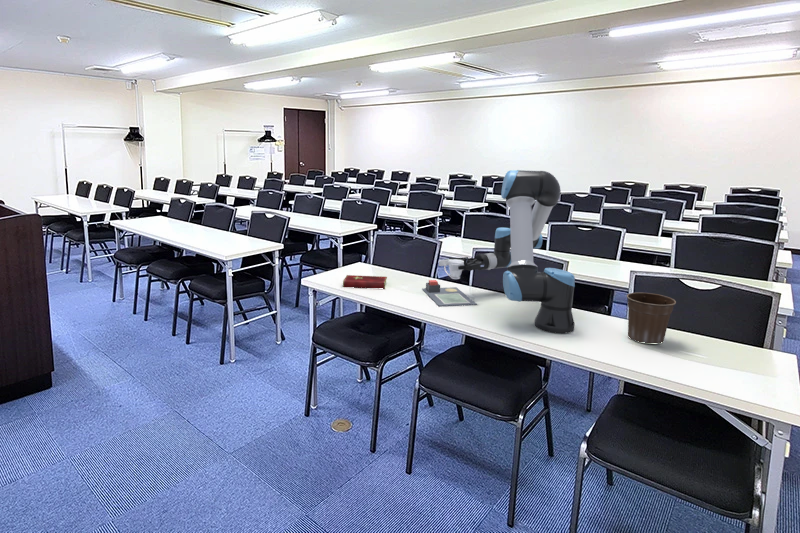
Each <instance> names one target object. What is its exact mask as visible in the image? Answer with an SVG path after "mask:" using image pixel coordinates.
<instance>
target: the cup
mask: <svg viewBox="0 0 800 533" xmlns="http://www.w3.org/2000/svg"><path fill="white" fill-rule="evenodd" d="M448 263H449V265H448V266H449V267H448V268H449V272H448V271H447V270H446V268H447V266H446V264H447V262H446V263H445V265H444V266H443V270H444V272H445V273H446V275H447V276H448V277H450V279H452V280H460V279H461V275H462V272H463V270H457V271H451V265H454V264H464V261H462V260H457V259H453V260H449V261H448Z"/></svg>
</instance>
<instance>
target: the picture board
mask: <svg viewBox="0 0 800 533" xmlns="http://www.w3.org/2000/svg"><path fill="white" fill-rule="evenodd" d="M421 290H422V292H424V293H425V294H426V295H427V296H428V297H429V298H430V299H431V301H433V303H434V304H436V306H438V308H439V307H441V308H442V307H462V305H463V307H464V305H465V306H477V305H478V303H477V302H475V300H473V299H472V298H470V297H469V296H468V295H467V294H466V293H464V292H463V291H462V290H461V289H459V288H458V287H456V286H455V287H454V286H452V287H451V286H450V287H440V292H434V293H429V292H428V291H427V290H426V287H425V288H424V287H422V288H421Z"/></svg>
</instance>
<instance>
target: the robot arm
mask: <svg viewBox="0 0 800 533" xmlns="http://www.w3.org/2000/svg"><path fill="white" fill-rule="evenodd" d="M501 186H502V187H501V191H500V192H501V193H500V194H501V198H502V199H503V200H505V203H506V204H505V205H507V206H508V207H509V221H510V222H509V224H510V226H509V227H503V226H502V227H497V228H495V229H496V230H495V234H494V248H493V252H489V253H478V254H477V255H475V256H474V257H468V256H465V257H449V258H448V259H447V258H446V259H439V260H438V266H439V267H444V265H445V263H446V262H447V264H446V267H447V266H449V263H448V261H449V260H453V259H457V260H462V261H464V264H454V265H451V271H457V270H462V271H467V272H470V271H475V270H478V271H485V270H488V271H491V269H493V270H494V269H502V268H503V269H505V268H506V269H507V270H506V271H504V272H503V276H502V286H503V291H504V294H505V296H506V298H507V299H508V300H509V301H512V302H513V301H514V302H518V303H519V302H532V303H534V302H536V303H537V302H538V303H540V308H539V309H538V312H537V314H536V317H535V319H534V326H535V328H536V329H538V330H540V331H544V332H545V333H546V332H547V333H551V334H561V335H562V334H571V333H573V332H574V330H575V326H576V325H575V320H574V319H575V318H574V316H573V311H572V310H573V309H572V308H573V302H574V292H575V287H576V285H575V281H576V280H575V279H576V278H575V275H574V274H573V273H571V272H569V271H567V270H564V269H561V268H560V269H559V268H555V267H545V268H544V270H543V271H538V270H539V268H538V265H537V264H535V262H534V250H535V249H541V248H542V245H543V238H544V237H543V235H542V232H543V230H544V227H545V225H546V223H547V221H548V219H549V216H550V215H551V212H552V209H553V208H554V207H555V206H556V205H558V202H559V200H560V197H561V185H560V183H559V180H558V179H557V178H556V177H555V176H554V175H553V174H552V173H550V172H549V171H545V170H522V169H521V170H520V169H517V170H514V169H513V170H508V171H507V172H506V173H505V175H504V177H503V181H502V184H501ZM533 205H534V206H533ZM532 206H533V207H532Z"/></svg>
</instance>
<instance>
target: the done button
mask: <svg viewBox="0 0 800 533" xmlns="http://www.w3.org/2000/svg"><path fill="white" fill-rule="evenodd" d="M428 283H429V285H438V284H439V282H438V281H437V280H436V279H429V280H428Z"/></svg>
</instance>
